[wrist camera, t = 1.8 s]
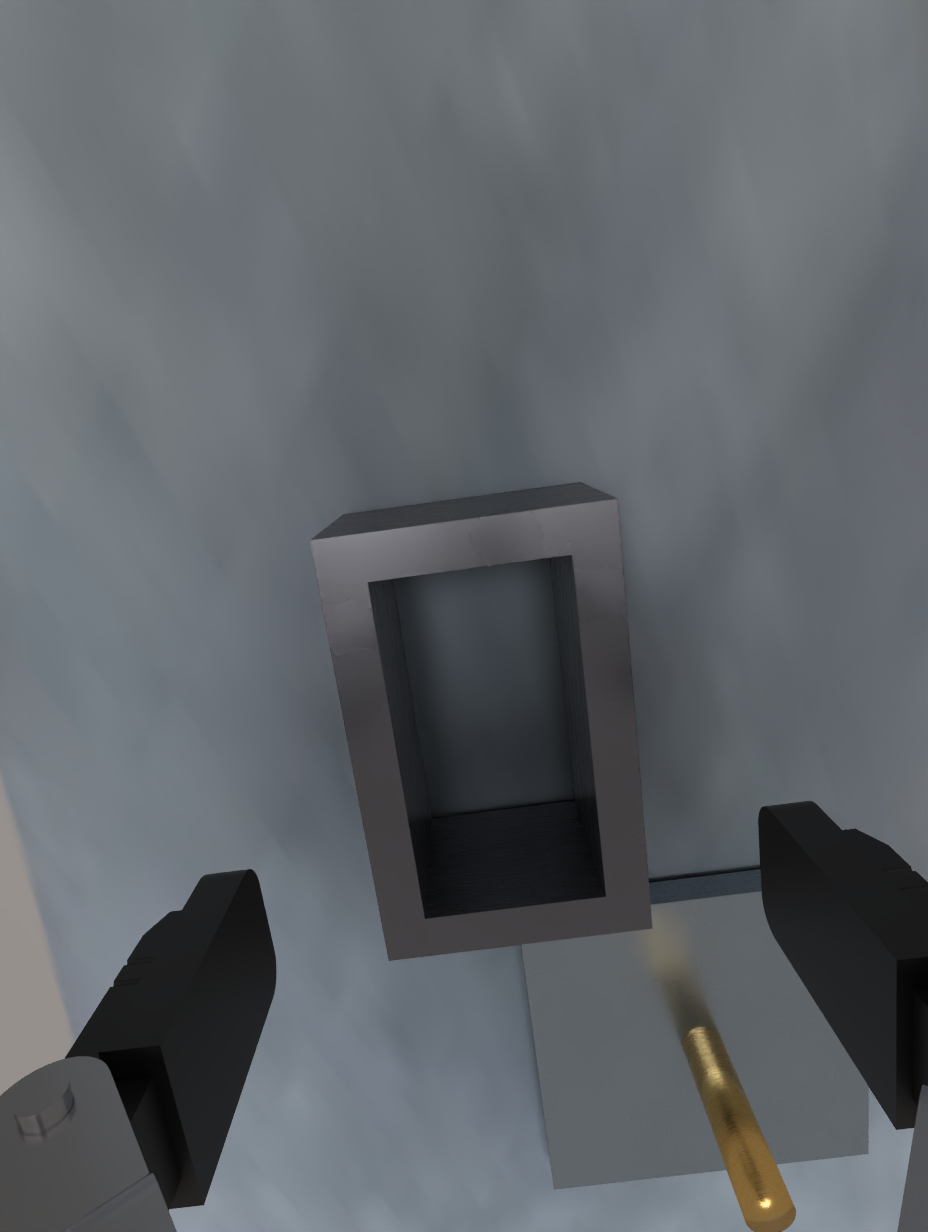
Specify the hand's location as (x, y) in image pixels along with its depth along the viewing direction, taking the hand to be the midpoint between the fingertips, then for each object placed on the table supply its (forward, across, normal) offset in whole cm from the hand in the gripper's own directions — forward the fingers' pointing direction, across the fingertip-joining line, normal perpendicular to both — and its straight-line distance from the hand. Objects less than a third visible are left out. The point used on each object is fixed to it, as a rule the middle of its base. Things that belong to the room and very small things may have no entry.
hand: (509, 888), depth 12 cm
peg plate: (+9, -5, +12) cm, 16 cm away
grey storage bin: (+9, 0, 0) cm, 9 cm away
